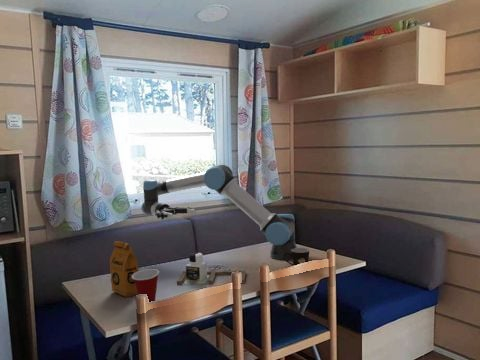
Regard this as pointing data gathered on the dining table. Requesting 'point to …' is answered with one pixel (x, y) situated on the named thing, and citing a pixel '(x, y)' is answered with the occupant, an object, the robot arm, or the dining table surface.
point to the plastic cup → (146, 282)
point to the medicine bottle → (196, 268)
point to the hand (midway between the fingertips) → (183, 214)
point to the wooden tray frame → (211, 278)
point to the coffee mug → (298, 255)
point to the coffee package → (123, 269)
